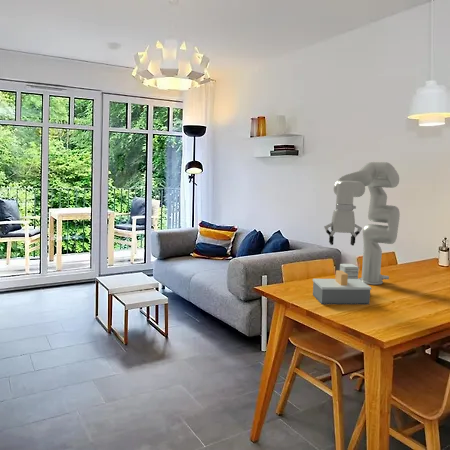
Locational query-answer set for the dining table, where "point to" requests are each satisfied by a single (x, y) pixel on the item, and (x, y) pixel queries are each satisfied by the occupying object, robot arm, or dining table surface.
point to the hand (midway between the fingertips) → (341, 244)
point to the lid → (341, 283)
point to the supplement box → (350, 270)
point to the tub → (341, 296)
